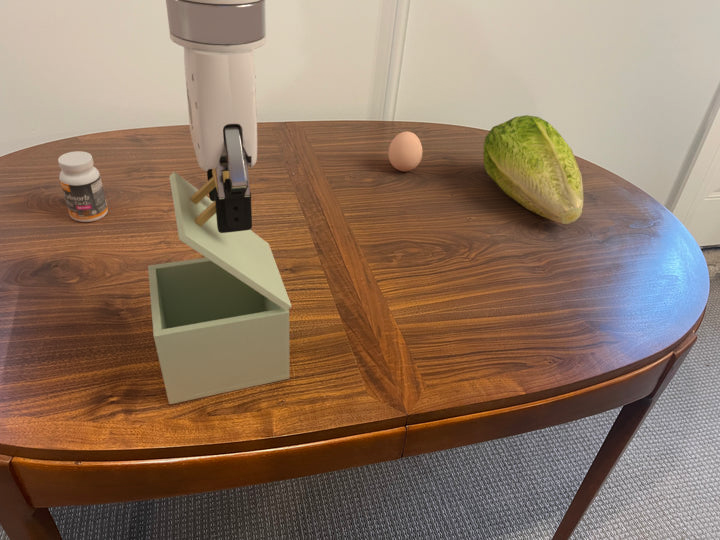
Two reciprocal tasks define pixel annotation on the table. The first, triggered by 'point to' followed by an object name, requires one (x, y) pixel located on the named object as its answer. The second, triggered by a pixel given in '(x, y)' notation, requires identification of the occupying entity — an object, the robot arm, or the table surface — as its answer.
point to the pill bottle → (82, 187)
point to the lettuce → (535, 168)
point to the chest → (214, 331)
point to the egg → (405, 151)
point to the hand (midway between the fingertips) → (229, 212)
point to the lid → (225, 240)
